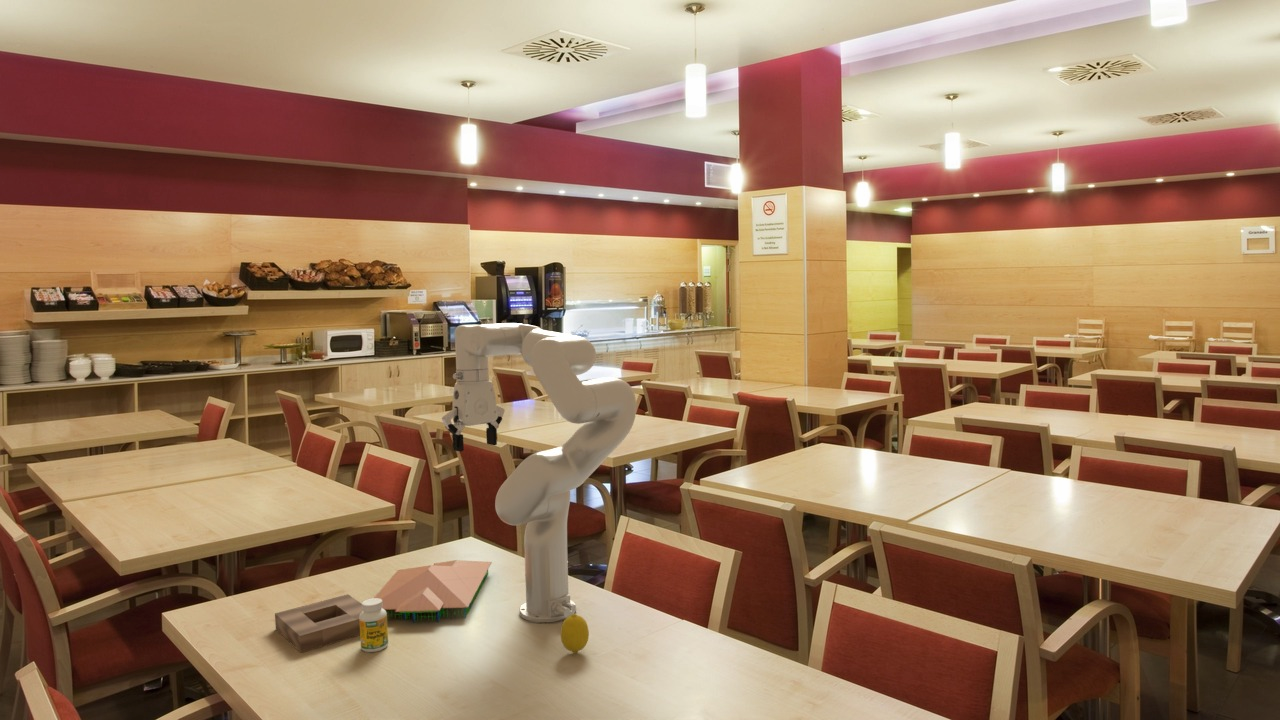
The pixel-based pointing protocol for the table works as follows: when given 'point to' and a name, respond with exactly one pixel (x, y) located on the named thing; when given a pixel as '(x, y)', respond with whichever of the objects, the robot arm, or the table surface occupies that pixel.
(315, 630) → the holder
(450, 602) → the house
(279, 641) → the table surface
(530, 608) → the robot arm
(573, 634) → the lemon
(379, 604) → the supplement bottle
